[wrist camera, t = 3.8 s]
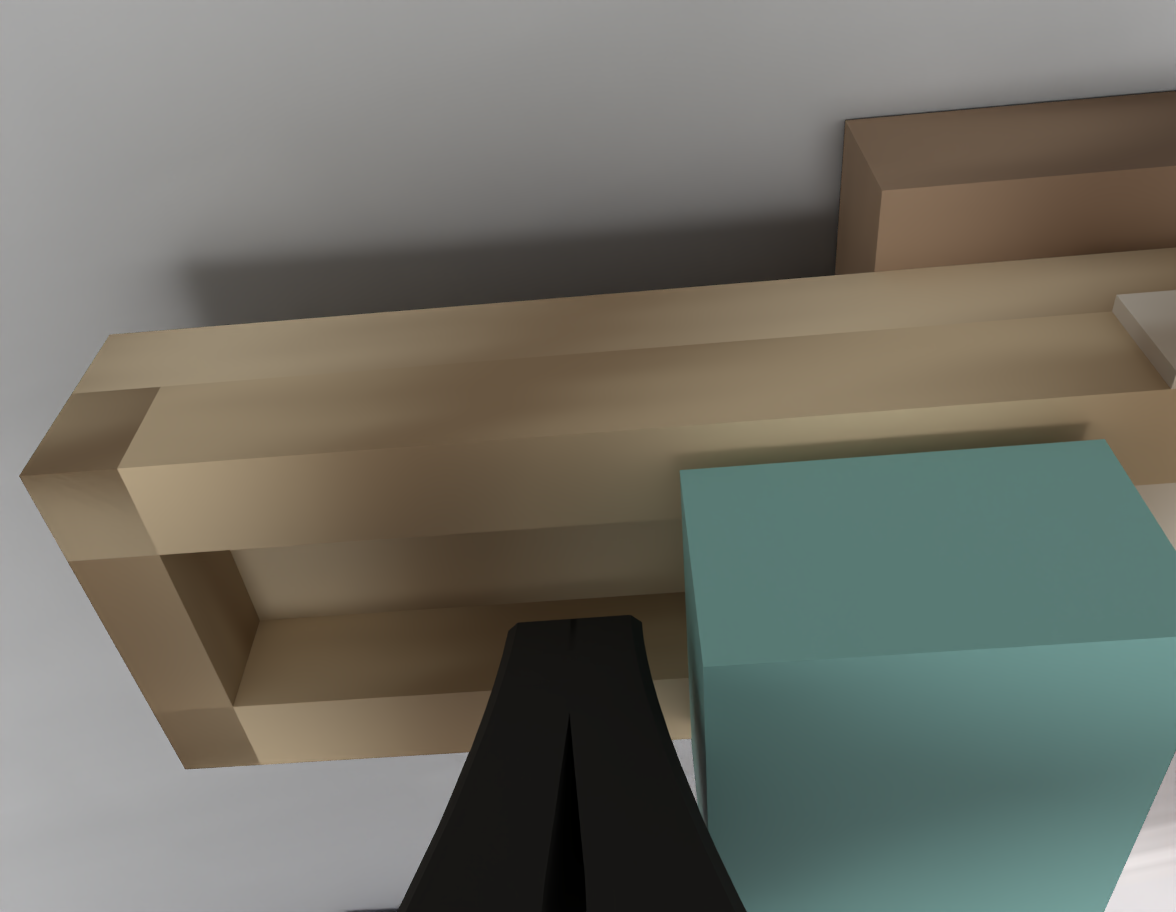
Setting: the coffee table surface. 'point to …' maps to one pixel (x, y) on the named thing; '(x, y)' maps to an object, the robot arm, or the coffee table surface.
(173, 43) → the coffee table surface
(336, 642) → the tan wooden slatted block
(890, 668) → the teal cube
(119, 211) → the coffee table surface
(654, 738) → the robot arm
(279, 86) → the coffee table surface
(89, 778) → the coffee table surface
